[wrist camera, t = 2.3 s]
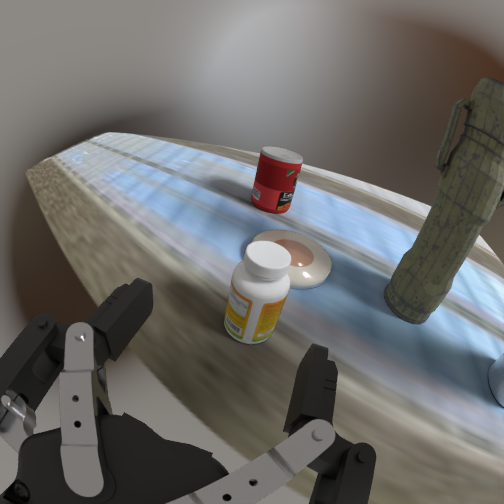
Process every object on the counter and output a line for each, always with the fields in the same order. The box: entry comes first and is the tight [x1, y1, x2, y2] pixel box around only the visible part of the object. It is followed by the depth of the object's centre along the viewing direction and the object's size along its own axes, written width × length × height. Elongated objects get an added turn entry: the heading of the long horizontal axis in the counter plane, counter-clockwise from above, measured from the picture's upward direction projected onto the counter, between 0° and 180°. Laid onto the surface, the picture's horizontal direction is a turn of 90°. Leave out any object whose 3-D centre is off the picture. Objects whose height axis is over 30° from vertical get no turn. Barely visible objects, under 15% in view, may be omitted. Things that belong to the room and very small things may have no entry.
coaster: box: [252, 230, 332, 289], centre depth 40 cm, size 12×12×2 cm
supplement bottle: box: [224, 241, 291, 344], centre depth 26 cm, size 5×5×10 cm
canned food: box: [251, 147, 303, 214], centre depth 51 cm, size 8×8×11 cm
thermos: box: [384, 78, 504, 324], centre depth 27 cm, size 9×12×35 cm
